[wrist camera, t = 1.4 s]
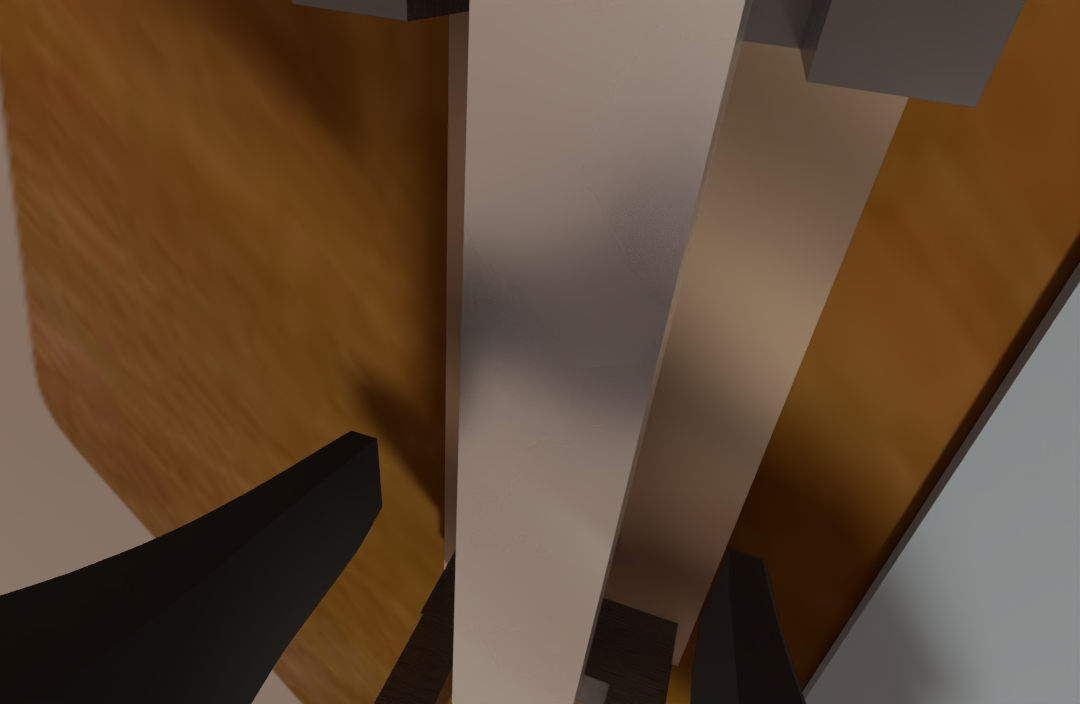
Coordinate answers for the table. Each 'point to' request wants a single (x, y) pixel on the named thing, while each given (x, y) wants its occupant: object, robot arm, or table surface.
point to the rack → (720, 298)
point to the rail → (569, 306)
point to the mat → (985, 556)
